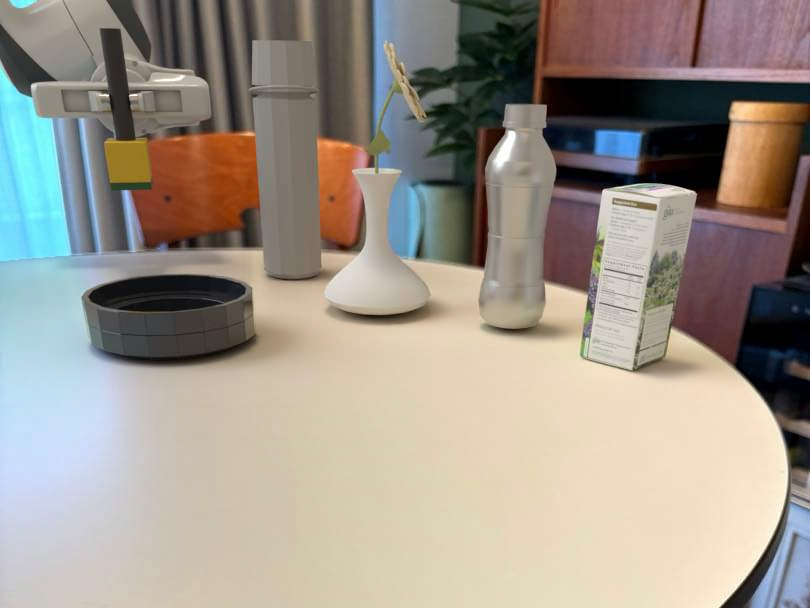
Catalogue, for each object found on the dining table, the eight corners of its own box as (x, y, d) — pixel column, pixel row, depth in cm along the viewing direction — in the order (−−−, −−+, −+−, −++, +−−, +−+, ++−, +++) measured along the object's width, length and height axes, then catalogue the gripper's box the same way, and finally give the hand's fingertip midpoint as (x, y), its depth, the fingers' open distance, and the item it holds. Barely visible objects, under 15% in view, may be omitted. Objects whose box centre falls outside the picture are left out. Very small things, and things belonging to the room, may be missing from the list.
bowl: (104, 374, 70) (94, 321, 68) (80, 327, 82) (72, 281, 79) (276, 352, 76) (273, 302, 73) (231, 312, 87) (227, 268, 85)
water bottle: (329, 279, 101) (321, 41, 88) (264, 282, 99) (247, 39, 87) (318, 264, 109) (310, 42, 96) (258, 266, 107) (242, 41, 95)
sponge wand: (111, 190, 95) (85, 27, 87) (114, 183, 100) (90, 28, 92) (151, 189, 96) (130, 28, 88) (152, 183, 101) (132, 29, 93)
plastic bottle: (547, 336, 81) (570, 107, 71) (478, 335, 81) (491, 105, 71) (539, 319, 87) (559, 103, 77) (474, 318, 87) (486, 102, 77)
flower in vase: (410, 329, 83) (416, 37, 70) (307, 317, 86) (294, 36, 73) (447, 299, 94) (457, 41, 81) (353, 290, 97) (349, 40, 84)
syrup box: (613, 345, 79) (636, 180, 72) (668, 359, 75) (699, 187, 68) (578, 357, 75) (599, 186, 68) (634, 373, 72) (662, 193, 65)
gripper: (34, 68, 101) (15, 69, 89) (205, 69, 105) (208, 71, 93) (45, 125, 104) (28, 134, 92) (211, 125, 108) (214, 133, 96)
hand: (120, 103), depth 93 cm, fingers closed on sponge wand, 2 cm apart
